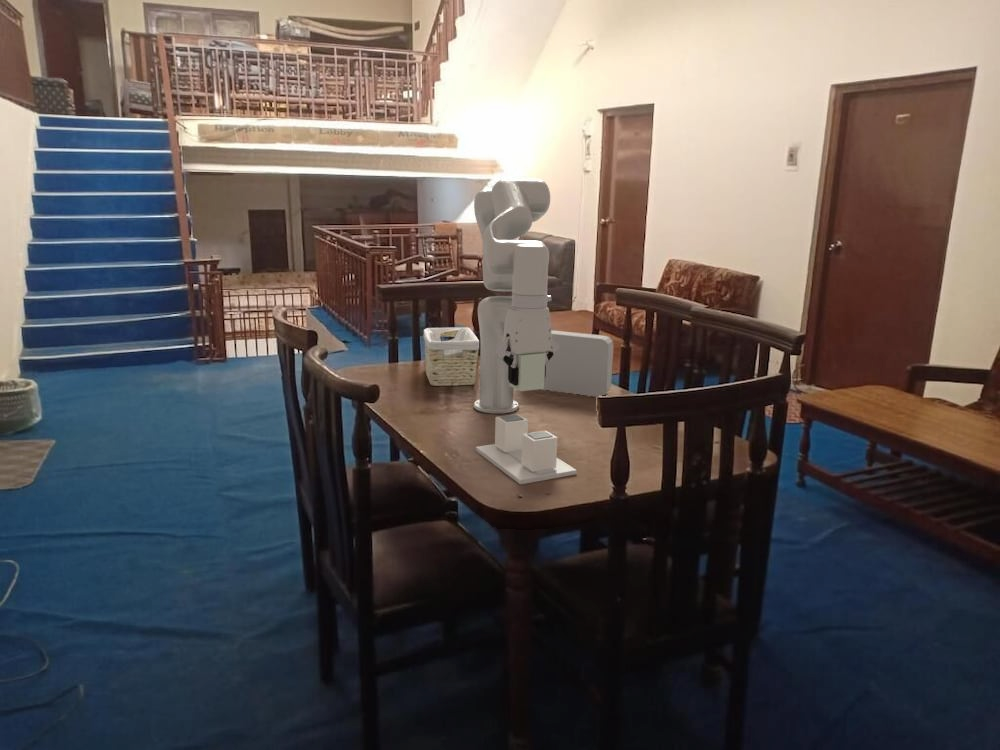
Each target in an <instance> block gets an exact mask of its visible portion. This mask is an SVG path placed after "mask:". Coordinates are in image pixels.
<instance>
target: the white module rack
mask: <svg viewBox="0 0 1000 750" xmlns="http://www.w3.org/2000/svg"><path fill="white" fill-rule="evenodd" d="M494 429H495V430H494V443H493V444H487V445H480V446H475V452H476V453H478V454H479V455H481V456H482V457H483V458H484V459H486V460H487V461H489V462H490V463H492V465H494V466H495V467H496V468H498V469H499V470H501V471H502V472H503V473H505V475H507V476H509V477H510V479H512V480H513V481H515V482H516V483H518V485H525V484H530V483H532V484H533V483H536V482H537V483H538V482H542V481H547V480H553V479H558V478H562V477H564V478H565V477H568V476H573V475H577V469H575V468H574V467H572V466H571V465H569V464H567V463H566V462H565V461H563V460H561V459H560V458H558V453H557V452H558V436H556V435H554V434H552V433H551V432H549V431H547V430H540V431H532V432H529V419H527V418H525V417H524V416H522V415H520V414H519V413H516V414H515V413H513V414H508V415H507V414H506V415H501V416H495V425H494Z"/></svg>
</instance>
